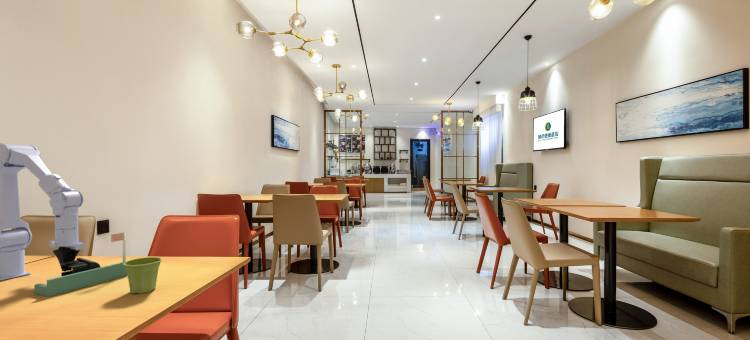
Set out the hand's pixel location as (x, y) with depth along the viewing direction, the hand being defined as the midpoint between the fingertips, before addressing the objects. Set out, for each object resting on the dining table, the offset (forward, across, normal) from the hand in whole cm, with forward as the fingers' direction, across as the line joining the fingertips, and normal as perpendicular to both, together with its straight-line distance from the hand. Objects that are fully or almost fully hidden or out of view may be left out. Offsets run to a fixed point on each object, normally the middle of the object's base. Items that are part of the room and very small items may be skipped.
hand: (66, 270), depth 113 cm
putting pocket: (+3, +10, 0) cm, 10 cm away
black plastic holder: (+3, +6, 0) cm, 7 cm away
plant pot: (+3, +33, +2) cm, 34 cm away
